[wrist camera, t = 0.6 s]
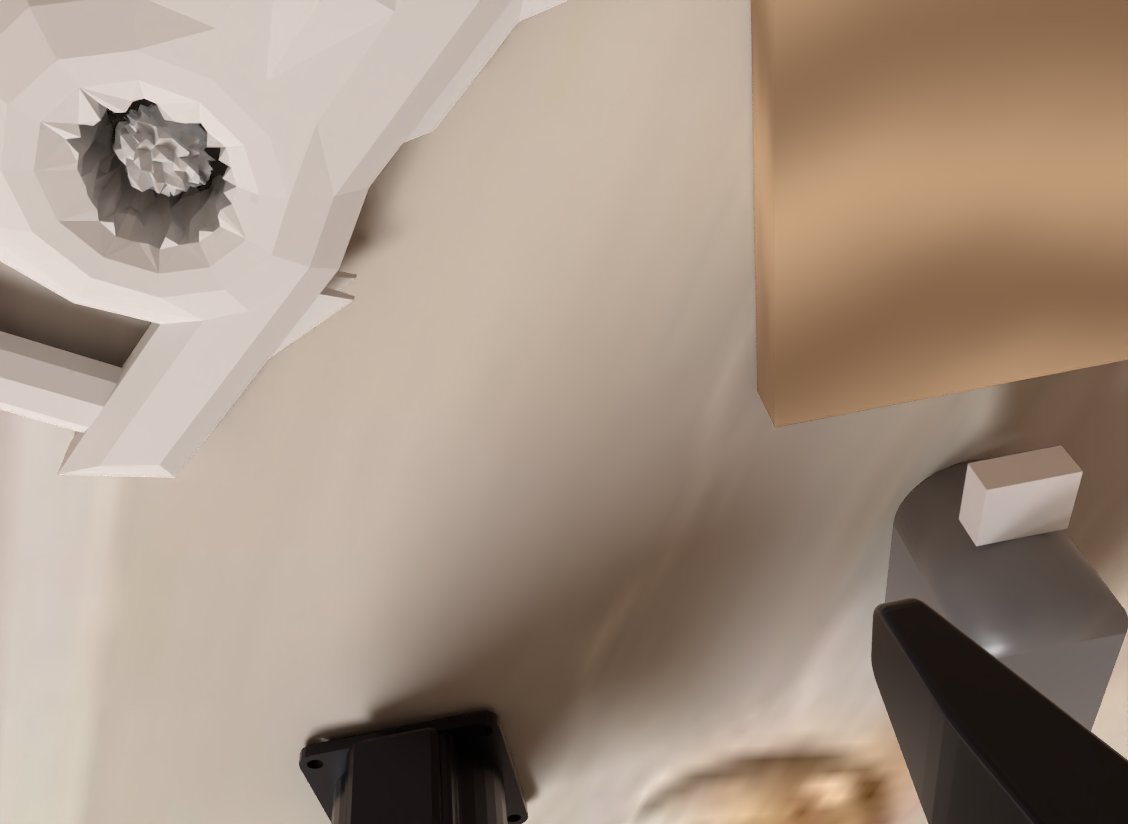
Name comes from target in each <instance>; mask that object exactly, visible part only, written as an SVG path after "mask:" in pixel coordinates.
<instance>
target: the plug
mask: <svg viewBox="0 0 1128 824" xmlns="http://www.w3.org/2000/svg"><path fill="white" fill-rule="evenodd" d="M1082 474H1083V471H1082V469H1081V468H1080V467H1079V466H1078V465H1077V464H1076V462H1075V461H1074V460H1073V459H1072V458H1071V456H1070V455H1069V454H1068V453H1067V452H1066V450H1065V449H1064V448H1063V447H1062V446H1061V445H1060V446H1055V447H1050V448H1044V449H1039V450H1034V451H1029V452H1024V453H1019V454H1013V455H1008V456H1003V457H998V458H993V459H988V460H974V461H968V462H963V463H959V464H956V465H953V466H950V467H948V468H946V469H943V470H941V471H939V472H937V473H935V474H934V475H932V476H930V477H929V478H927V479H926V480H924V481H923V482H922V483H920V484H919V485H918V486H917V487H916V488H914V489H913V490H912V491H911V492H910V493H909V495H908V496H907V497H906V498H905V499H904V501H903V502H902V504H901V505H900V507H899V509H898V511H897V513H896V516H895V519H894V524H893V533H892V542H891V551H890V560H889V570H888V579H887V588H886V598H885V603H889V602H893V601H898V600H903V599H907V598H915V599H919V600H921V601H923V602H924V603H926V604H927V605H928V606H930V607H931V608H932V609H933V610H935V611H936V612H937V613H939V614H940V615H941V616H942V617H944V618H945V619H946V620H948V621H949V622H950V623H951V624H953V625H954V626H955V627H957V628H958V629H959V630H960V631H962V632H963V633H964V634H966V635H967V636H968V637H969V638H971V639H972V640H973V641H975V642H976V643H977V644H978V645H980V646H981V647H982V648H984V649H985V650H986V651H988V652H989V653H990V654H991V655H993V656H994V657H995V658H997V659H998V660H999V661H1000V662H1002V663H1003V664H1004V665H1006V666H1007V667H1008V668H1009V669H1011V670H1012V671H1013V672H1015V673H1016V674H1017V675H1018V676H1020V677H1021V678H1022V679H1024V680H1025V681H1026V682H1027V683H1029V684H1030V685H1031V686H1033V687H1034V688H1035V689H1036V690H1038V691H1039V692H1040V693H1042V694H1043V695H1044V696H1046V697H1047V698H1048V699H1049V700H1051V701H1052V702H1053V703H1055V704H1056V705H1057V706H1058V707H1060V708H1061V709H1062V710H1064V711H1065V712H1066V713H1067V714H1069V715H1070V716H1071V717H1073V718H1074V719H1075V720H1076V721H1078V722H1079V723H1080V724H1082V725H1083V726H1084V727H1085V728H1087V729H1088V730H1089V731H1091V729H1092V726H1093V724H1094V721H1095V718H1096V715H1097V713H1098V710H1099V707H1100V704H1101V702H1102V699H1103V696H1104V693H1105V690H1106V688H1107V685H1108V682H1109V679H1110V677H1111V674H1112V671H1113V668H1114V665H1115V663H1116V660H1117V657H1118V654H1119V652H1120V649H1121V646H1122V643H1123V641H1124V638H1125V635H1126V632H1127V628H1128V617H1127V614H1126V611H1125V609H1124V608H1123V607H1122V605H1121V604H1120V603H1119V602H1118V600H1117V599H1116V598H1115V596H1114V595H1113V594H1112V592H1111V591H1110V590H1109V588H1108V587H1107V586H1106V584H1105V583H1104V582H1103V580H1102V579H1101V578H1100V576H1099V575H1098V574H1097V573H1096V571H1095V570H1094V569H1093V567H1092V566H1091V565H1090V563H1089V562H1088V561H1087V559H1086V558H1085V557H1084V555H1083V554H1082V553H1081V551H1080V550H1079V549H1078V547H1077V546H1076V545H1075V544H1074V542H1073V541H1072V540H1071V538H1070V537H1069V536H1068V534H1067V533H1066V532H1065V530H1064V529H1068V525H1069V522H1070V518H1071V514H1072V511H1073V507H1074V503H1075V500H1076V496H1077V492H1078V489H1079V485H1080V481H1081V477H1082Z"/></svg>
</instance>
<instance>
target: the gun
mask: <svg viewBox="0 0 1128 824" xmlns="http://www.w3.org/2000/svg"><path fill="white" fill-rule="evenodd" d="M566 1H567V0H0V261H1V262H3V263H5V264H6V265H8V266H10V267H12V268H13V269H15V270H17V271H18V272H20V273H22V274H24V275H25V276H27V277H29V278H30V279H32V280H34V281H36V282H37V283H39V284H41V285H43V286H44V287H46V288H48V289H49V290H51V291H53V292H55V293H56V294H58V295H60V296H62V297H63V298H65V299H67V300H68V301H70V302H72V303H75V304H79V305H83V306H87V307H91V308H95V309H99V310H104V311H108V312H112V313H116V314H120V315H124V316H128V317H132V318H137V319H141V320H145V321H149V322H152V323H151V325H150V326H149V328H148V329H147V331H146V332H145V333H144V335H143V336H142V338H141V339H140V341H139V342H138V344H137V345H136V347H135V348H134V350H133V351H132V353H131V354H130V356H129V357H128V358H127V360H126V361H125V363H124V364H123V366H122V367H117V366H114V365H111V364H108V363H104V362H101V361H98V360H94V359H91V358H88V357H84V356H81V355H78V354H75V353H71V352H68V351H65V350H61V349H58V348H55V347H51V346H48V345H45V344H42V343H38V342H35V341H32V340H28V339H25V338H22V337H18V336H15V335H12V334H9V333H5V332H2V331H0V409H1V410H4V411H8V412H11V413H15V414H18V415H22V416H25V417H29V418H32V419H36V420H39V421H42V422H46V423H49V424H53V425H56V426H60V427H63V428H67V429H70V430H74V431H77V434H76V435H75V436H74V438H73V439H72V441H71V443H70V445H69V447H68V450H67V452H66V455H65V457H64V459H63V462H62V464H61V467H60V469H59V471H58V474H57V475H88V476H128V477H169V478H176V477H177V476H178V474H179V473H180V472H181V471H182V469H183V468H184V467H185V466H186V464H187V463H188V462H189V460H190V459H191V458H192V457H193V455H194V454H195V453H196V451H197V450H198V449H199V448H200V446H201V445H202V444H203V443H204V441H205V440H206V439H207V437H208V436H209V435H210V434H211V432H212V431H213V430H214V428H215V427H216V426H217V425H218V423H219V422H220V421H221V419H222V418H223V417H224V416H225V414H226V413H227V412H228V411H229V409H230V408H231V407H232V405H233V404H234V403H235V402H236V400H237V399H238V398H239V396H240V395H241V394H242V393H243V391H244V390H245V389H246V388H247V386H248V385H249V384H250V382H251V381H252V380H253V379H254V377H255V376H256V375H257V373H258V372H259V371H260V370H261V368H262V367H263V366H264V365H265V363H266V362H267V361H268V359H269V358H271V357H272V356H274V355H275V354H277V353H278V352H280V351H281V350H282V349H284V348H285V347H287V346H288V345H290V344H291V343H293V342H294V341H295V340H297V339H298V338H300V337H301V336H303V335H304V334H306V333H307V332H308V331H310V330H311V329H313V328H314V327H316V326H317V325H319V324H320V323H321V322H323V321H324V320H326V319H327V318H329V317H330V316H332V315H333V314H334V313H336V312H337V311H339V310H340V309H342V308H343V307H345V306H346V305H347V304H349V303H350V302H352V301H353V300H354V296H351V295H348V294H345V293H342V292H339V291H340V290H341V289H342V288H344V287H345V286H346V285H347V284H349V283H350V282H351V281H353V280H354V279H355V278H356V276H357V275H356V274H350V273H345V272H339V271H338V270H339V268H340V265H341V263H342V260H343V257H344V255H345V252H346V249H347V246H348V244H349V241H350V238H351V236H352V233H353V230H354V227H355V225H356V222H357V219H358V217H359V214H360V211H361V209H362V206H363V203H364V200H365V198H366V195H367V192H368V190H369V187H370V186H371V184H372V183H373V182H374V180H375V179H376V178H377V176H378V175H379V174H380V173H381V171H382V170H383V169H384V167H385V166H386V165H387V163H388V162H389V161H390V159H391V158H392V157H393V155H394V154H395V153H396V152H397V150H398V149H399V148H400V146H401V145H402V144H403V143H405V142H408V141H410V140H413V139H415V138H418V137H420V136H423V135H425V134H427V133H430V132H432V131H434V130H435V129H436V128H437V127H438V125H439V124H440V123H441V121H442V120H443V119H444V118H445V116H446V115H447V114H448V112H449V111H450V110H451V109H452V107H453V106H454V105H455V103H456V102H457V101H458V99H459V98H460V97H461V96H462V94H463V93H464V92H465V90H466V89H467V88H468V87H469V85H470V84H471V83H472V81H473V80H474V79H475V78H476V76H477V75H478V74H479V72H480V71H481V70H482V68H483V67H484V66H485V65H486V63H487V62H488V61H489V59H490V58H491V57H492V56H493V54H494V53H495V52H496V50H497V49H498V48H499V47H500V45H501V44H502V43H503V41H504V40H505V39H506V37H507V36H508V35H509V34H510V32H511V31H512V30H513V28H514V27H515V26H516V25H517V23H518V22H520V21H522V20H524V19H527V18H529V17H531V16H534V15H536V14H538V13H541V12H543V11H545V10H548V9H550V8H552V7H555V6H557V5H559V4H562V3H564V2H566ZM141 99H146V100H149V101H151V102H153V103H156V104H157V105H153V104H150V105H149V106H148V107H146V106H143V105H140V106H139V109H138V111H135V110H132V109H131V111H129V114H126V115H127V116H128V118H129V119H127V118H125V117H124V118H125V120H126V121H127V122H125V121H124V122H119V123H118V125H117V126H116V128H115V137H116V138H115V143H113V142H112V141H111V139H112V136H113V128H112V123H111V122H110V120H109V118H108V117H107V109H110V110H111V111H113V112H114V113H123V112H126V111H127V110H128V108H129V106H130V105H131V103H132V102H133V101H137V100H141ZM198 123H201V124H202V126H203V127H204V128H205V130H206V131H205V130H203V129H202V128H201V127H200V126H199V125H200V124H198ZM206 145H207V147H221V148H220V154H219V161H221V162H223V163H224V164H226V165H228V168H227V170H226V172H225V174H224V176H223V175H217V176H216V177H214V178H213V180H212V183H211V185H210V187H209V188H208V189H205V190H202V191H199V190H198V189H197V188H196V187H197V186H200V185H203V184H204V185H206V183H205V182H207V181H208V180H209V179H210V177H209V176H210V174H211V172H210V170H213V169H212V168H211V166H210V165H209V161H215V159H213V158H212V157H210V156H209V155H208V154H207V153H206V152H204V150H205V148H206ZM181 192H183V193H182V194H181Z"/></svg>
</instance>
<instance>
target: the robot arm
mask: <svg viewBox="0 0 1128 824" xmlns="http://www.w3.org/2000/svg"><path fill="white" fill-rule="evenodd" d="M871 661H872V667H873V672H874V676H875V679H876V682H877V685H878V688H879V691H880V693H881V696H882V699H883V701H884V704H885V707H886V710H887V712H888V715H889V718H890V721H891V723H892V726H893V729H894V732H895V734H896V737H897V740H898V742H899V745H900V748H901V751H902V753H903V756H904V759H905V762H906V764H907V767H908V770H909V772H910V775H911V778H912V781H913V783H914V786H915V789H916V792H917V794H918V797H919V800H920V803H921V805H922V808H923V810H924V813H925V815H926V818H927V821H928V823H929V824H1128V760H1127V759H1125V758H1124V757H1123V756H1122V755H1120V754H1119V753H1118V752H1116V751H1115V750H1114V749H1113V748H1111V747H1110V746H1109V745H1107V744H1106V743H1105V742H1104V741H1102V740H1101V739H1100V738H1098V737H1097V736H1096V735H1094V734H1093V733H1092V732H1091V731H1089V730H1088V729H1087V728H1085V727H1084V726H1083V725H1082V724H1080V723H1079V722H1078V721H1076V720H1075V719H1074V718H1073V717H1071V716H1070V715H1069V714H1067V713H1066V712H1065V711H1064V710H1062V709H1061V708H1060V707H1058V706H1057V705H1056V704H1055V703H1053V702H1052V701H1051V700H1049V699H1048V698H1047V697H1046V696H1044V695H1043V694H1042V693H1040V692H1039V691H1038V690H1036V689H1035V688H1034V687H1033V686H1031V685H1030V684H1029V683H1027V682H1026V681H1025V680H1024V679H1022V678H1021V677H1020V676H1018V675H1017V674H1016V673H1015V672H1013V671H1012V670H1011V669H1009V668H1008V667H1007V666H1006V665H1004V664H1003V663H1002V662H1000V661H999V660H998V659H997V658H995V657H994V656H993V655H991V654H990V653H989V652H988V651H986V650H985V649H984V648H982V647H981V646H980V645H978V644H977V643H976V642H975V641H973V640H972V639H971V638H969V637H968V636H967V635H966V634H964V633H963V632H962V631H960V630H959V629H958V628H957V627H955V626H954V625H953V624H951V623H950V622H949V621H948V620H946V619H945V618H944V617H942V616H941V615H940V614H939V613H937V612H936V611H935V610H933V609H932V608H931V607H930V606H928V605H927V604H926V603H924V602H923V601H921V600H919V599H915V598H907V599H903V600H898V601H893V602H889V603H884V604H880V605H878V606H877V607H876V608H875V610H874V613H873V628H872V651H871ZM299 766H300V769H301V770H302V772H303V774H304V775H305V777H306V779H307V781H308V782H309V784H310V786H311V788H312V789H313V791H314V793H315V795H316V796H317V798H318V800H319V802H320V803H321V805H322V807H323V808H324V810H325V812H326V814H327V815H328V817H329V819H330V821H331V822H332V824H522V823H523V822H525V821H526V820H527V819H528V813H527V804H526V801H525V798H524V795H523V792H522V789H521V786H520V782H519V779H518V776H517V773H516V770H515V767H514V763H513V760H512V757H511V754H510V751H509V748H508V744H507V741H506V738H505V735H504V732H503V729H502V726H501V722H500V719H499V717H498V715H497V714H495V713H493V712H489V711H482V712H476V713H471V714H466V715H461V716H456V717H451V718H446V719H440V720H435V721H430V722H425V723H420V724H415V725H410V726H405V727H399V728H394V729H389V730H384V731H379V732H374V733H369V734H363V735H358V736H353V737H348V738H343V739H338V740H333V741H328V742H322V743H317V744H312V745H309V746H306V747H305V748H303V749H302V750H301V752H300V760H299Z"/></svg>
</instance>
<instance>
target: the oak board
mask: <svg viewBox="0 0 1128 824" xmlns="http://www.w3.org/2000/svg"><path fill="white" fill-rule="evenodd" d="M751 33H752V92H753V151H754V211H755V270H756V330H757V389H758V393H759V395H760V397H761V399H762V401H763V403H764V405H765V407H766V409H767V411H768V413H769V415H770V418H771V420H772V422H773V424H774V426H775V427H780V426H785V425H791V424H796V423H801V422H806V421H811V420H817V419H822V418H827V417H832V416H837V415H843V414H848V413H853V412H858V411H864V410H869V409H874V408H879V407H884V406H890V405H895V404H900V403H905V402H910V401H916V400H921V399H926V398H931V397H937V396H942V395H947V394H952V393H957V392H963V391H968V390H973V389H978V388H983V387H989V386H994V385H999V384H1004V383H1009V382H1015V381H1020V380H1025V379H1030V378H1036V377H1041V376H1046V375H1051V374H1056V373H1062V372H1067V371H1072V370H1077V369H1082V368H1088V367H1093V366H1098V365H1103V364H1108V363H1114V362H1119V361H1124V360H1128V0H751Z"/></svg>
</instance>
